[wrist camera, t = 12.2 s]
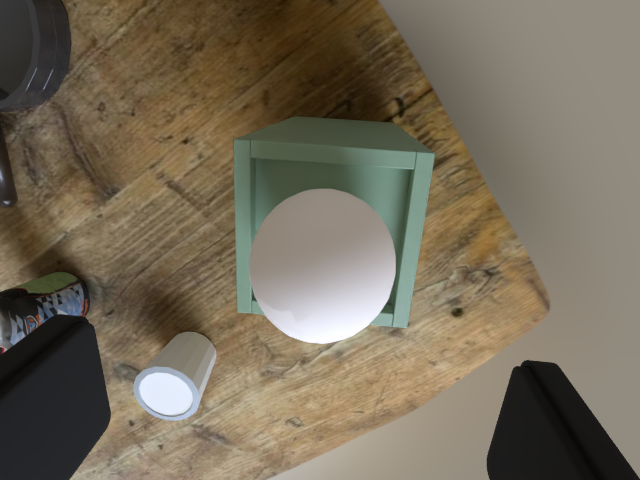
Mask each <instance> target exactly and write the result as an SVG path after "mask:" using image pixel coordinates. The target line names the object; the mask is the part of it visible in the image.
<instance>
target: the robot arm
mask: <svg viewBox="0 0 640 480" xmlns="http://www.w3.org/2000/svg"><path fill="white" fill-rule="evenodd" d="M110 417H111V411H110V406H109V401H108V396H107V391H106V385H105V380H104V375H103V370H102V365H101V359H100V354H99V349H98V344H97V339H96V333H95V329H94V326H93V325H92V324H90V323H89V322H88V320H87V319H86V317H83V316H76V315H65V314H56V315H54V316H52V317H50V318H49V319H48V320H46V321H45V322H44V323H42V324H41V325H40V326H38V327H37V328H36V329H34V330H33V331H32V332H30V333H29V334H28V335H26V336H25V337H24V338H23V339H21V340H20V341H19V342H17V343H16V344H15V345H13V346H12V347H11V348H9V349H8V350H7V351H5V352H4V353H3V354H1V355H0V480H70V478H71V477H72V475H73V474H74V473H75V471H76V470H77V469H78V467H79V466H80V465H81V463H82V462H83V460H84V459H85V458H86V456H87V455H88V454H89V452H90V451H91V450H92V448H93V447H94V445H95V444H96V443H97V441H98V440H99V439H100V437H101V436H102V435H103V433H104V432H105V430H106V429H107V427H108V425H109V422H110ZM487 471H488V475H489V479H490V480H640V479H639V477H638V476H637V475H636V473H635V472H634V470H633V469H632V467H631V466H630V465H629V463H628V462H627V461H626V459H625V458H624V456H623V455H622V454H621V452H620V451H619V449H618V448H617V447H616V445H615V444H614V443H613V441H612V440H611V438H610V437H609V435H608V434H607V433H606V431H605V430H604V429H603V427H602V426H601V424H600V423H599V422H598V420H597V419H596V417H595V416H594V415H593V413H592V412H591V410H590V409H589V408H588V406H587V405H586V403H584V401H583V399H582V398H581V397H580V395H579V394H578V392H577V391H576V390H575V388H574V387H573V385H572V384H571V383H570V381H569V380H568V378H567V377H566V376H565V374H564V373H563V372H562V370H561V369H560V368H559V366H558V365H557V364H555V363H550V362H540V361H529V360H526V361H524V362H523V363H522V364H521V366H517V367H514V368H513V371H512V374H511V377H510V380H509V384H508V387H507V391H506V394H505V397H504V401H503V404H502V408H501V411H500V414H499V418H498V421H497V424H496V428H495V431H494V435H493V438H492V441H491V445H490V449H489V452H488V455H487Z"/></svg>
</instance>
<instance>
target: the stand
mask: <svg viewBox="0 0 640 480" xmlns="http://www.w3.org/2000/svg"><path fill="white" fill-rule="evenodd" d="M233 150H234V195H235V240H236V285H237V312H243V313H253V314H263V315H265V314H264V312H263V311H262V309H261V308H260V306H259V304H258V302H257V300H256V298H255V296H254V292H253V289H252V285H251V282H250V278H249V259H250V252H251V246H252V243H253V240H254V238H255V236H256V233H257V231H258V229H259V227H260V226H261V224H262V222H263V221H264V219H265V218H266V217H267V215H268V214H269V213H270V212H271V211H272V210H273V209H274V208H275V207H276V206H277V205H279V204H280V203H281V202H283V201H284V200H285V199H287V198H289V197H292V196H294V195H296V194H298V193H300V192H303V191H307V190H311V189H335V190H339V191H343V192H347V193H349V194H351V195H353V196H355V197H357V198H359V199H361V200H363V201H365V202H366V203H367V204H368V205H369V206H370V207H371V208H372V209H374V210H375V211H376V212H377V213H378V214H379V216H380V217H381V218H382V220H383V221H384V223H385V224H386V226H387V228H388V230H389V233H390V235H391V237H392V240H393V244H394V250H395V256H396V275H395V279H394V283H393V286H392V289H391V293H390V296H389V299H388V301H387V303H386V304H385V306H384V307H383V309H382V310H381V312H380V313H379V314H378V315H377V317H376V318H375V319H374V320H373V321H372V322H371V323H370V324H369V325H380V326H390V327H391V326H392V327H401V328H407V326H408V320H409V314H410V307H411V301H412V295H413V289H414V282H415V276H416V270H417V264H418V257H419V251H420V245H421V239H422V232H423V226H424V220H425V214H426V207H427V201H428V195H429V189H430V182H431V176H432V170H433V163H434V157H435V153H434V152H433V151H431V150H430V149H428V148H427V147H426V146H424V145H423V144H422V143H420V142H419V141H418V140H416V139H415V138H414V137H412V136H411V135H410V134H408V133H407V132H405V131H404V130H403V129H401V128H400V127H399V126H397V125H396V124H395V123H392V122H377V121H361V120H346V119H330V118H315V117H299V116H294V117H291V118H289V119H286V120H283V121H281V122H278V123H276V124H273V125H270V126H268V127H265V128H262V129H260V130H257V131H254V132H252V133H249V134H247V135H244V136H241V137H238V138H236V139H234V140H233Z"/></svg>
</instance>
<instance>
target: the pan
mask: <svg viewBox="0 0 640 480" xmlns="http://www.w3.org/2000/svg"><path fill="white" fill-rule="evenodd" d="M70 50H71V38H70V31H69V25H68V18H67V14H66V11H65V9H64V7H63V4H62V2H61V0H0V112H10V111H23V110H26V109H29V108H33V107H36V106H39V105H42V104H43V103H44V102H45V101H46V100H47V99H49V98H50V97H51V96H52V95H53V94H54V93H56V92H57V90H58V89H59V87H60V85H61V83H62V81H63V79H64V77H65V75H66V73H67V70H68V66H69V58H70Z"/></svg>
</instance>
